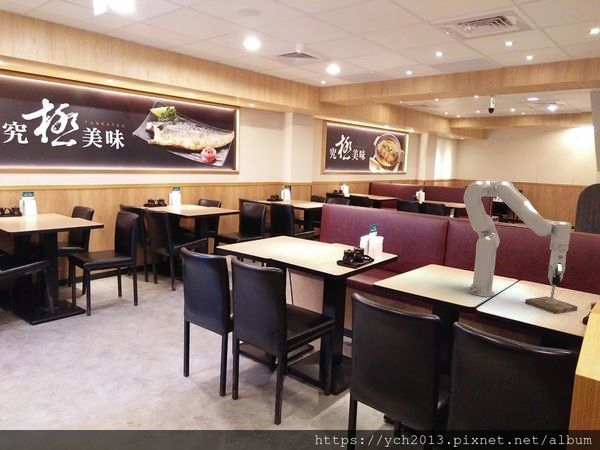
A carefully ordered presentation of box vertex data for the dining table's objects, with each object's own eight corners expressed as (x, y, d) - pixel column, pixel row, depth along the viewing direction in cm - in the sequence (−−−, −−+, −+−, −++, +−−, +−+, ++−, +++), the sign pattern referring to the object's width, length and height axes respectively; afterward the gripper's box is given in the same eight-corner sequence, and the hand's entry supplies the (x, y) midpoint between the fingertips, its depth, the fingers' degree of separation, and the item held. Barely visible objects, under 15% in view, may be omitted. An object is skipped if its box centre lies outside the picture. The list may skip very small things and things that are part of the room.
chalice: (556, 301, 212) (562, 266, 209) (562, 305, 205) (567, 269, 203) (540, 299, 213) (546, 264, 211) (545, 303, 207) (551, 267, 204)
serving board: (555, 314, 199) (556, 309, 199) (525, 303, 213) (525, 299, 213) (577, 310, 206) (577, 306, 206) (546, 300, 220) (546, 296, 220)
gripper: (572, 251, 196) (567, 288, 198) (563, 245, 212) (558, 279, 215) (554, 249, 198) (548, 286, 201) (546, 243, 214) (541, 277, 217)
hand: (553, 282), depth 208 cm, fingers open, 6 cm apart
